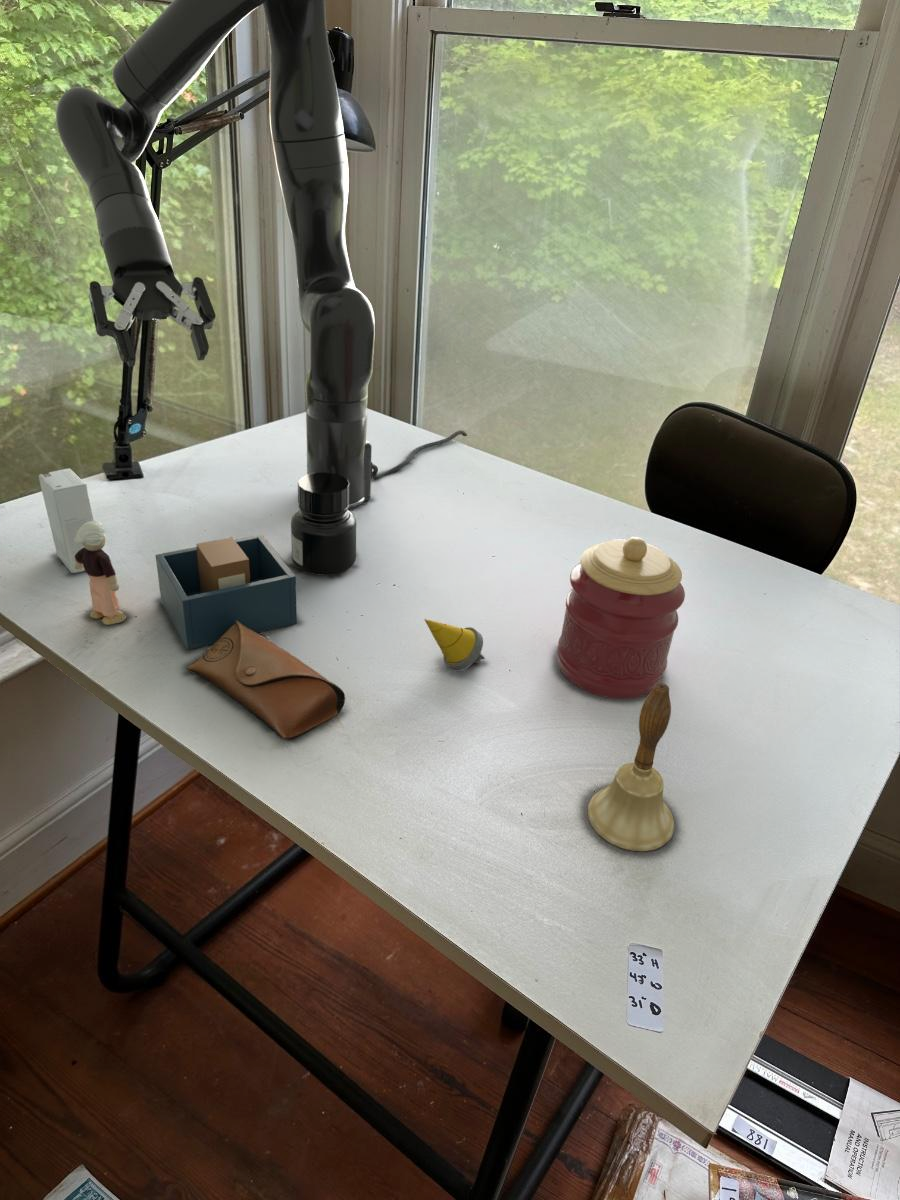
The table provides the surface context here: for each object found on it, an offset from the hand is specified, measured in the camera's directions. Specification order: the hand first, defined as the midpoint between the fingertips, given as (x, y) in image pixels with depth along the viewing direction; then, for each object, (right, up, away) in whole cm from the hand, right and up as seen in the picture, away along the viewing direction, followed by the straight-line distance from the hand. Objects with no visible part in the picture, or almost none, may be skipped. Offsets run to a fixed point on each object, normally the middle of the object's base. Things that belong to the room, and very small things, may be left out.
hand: (168, 360), depth 105 cm
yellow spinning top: (+35, -38, -4) cm, 52 cm away
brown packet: (+7, -31, +1) cm, 31 cm away
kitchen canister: (+54, -38, -2) cm, 66 cm away
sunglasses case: (+14, -40, -10) cm, 43 cm away
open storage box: (+7, -31, +2) cm, 32 cm away
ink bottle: (+17, -24, +14) cm, 33 cm away
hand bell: (+52, -51, -23) cm, 76 cm away
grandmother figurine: (-7, -32, -1) cm, 32 cm away
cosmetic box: (-15, -25, +9) cm, 30 cm away
